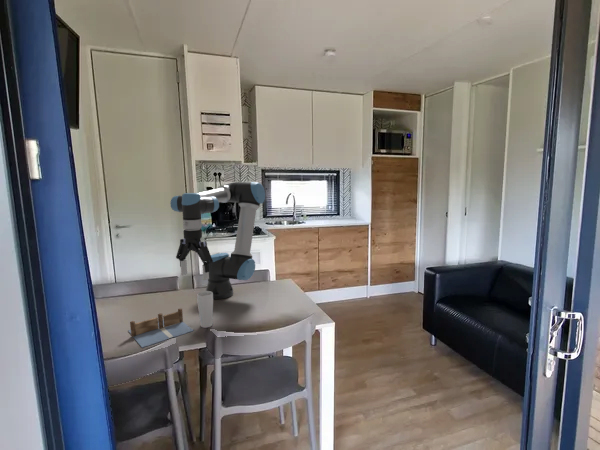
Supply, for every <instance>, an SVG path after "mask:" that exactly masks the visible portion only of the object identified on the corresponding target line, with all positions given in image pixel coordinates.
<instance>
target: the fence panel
mask: <svg viewBox="0 0 600 450" xmlns="http://www.w3.org/2000/svg"><path fill="white" fill-rule="evenodd" d="M163 316H164V314H163V313H158V314H157V317H153V318H150V319H146V320H142V321H139V322H136V321H135V320H132V321H130V322H129V327H130V330H131V334H130V336H131V337H132V338H134V337H133V336H136V335H139V334H142V333H145V332H149V331H152V330H155V329H158V322H159V328H163V320H164V319H163Z"/></svg>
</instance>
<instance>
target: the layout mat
mask: <svg viewBox="0 0 600 450" xmlns="http://www.w3.org/2000/svg"><path fill="white" fill-rule="evenodd" d="M127 331H128V332H129V333H130V335H131V329H128V330H127ZM193 332H194V329H192V327H191V326H189V325H188V324H187V323H186V322H184V321H183V322H179V323H176V324H173V325H170V326H166V327H164V319H163V328H159V322H158V329H155V330H152V331H149V332H145V333H142V334H139V335H136V336H133V337H132V338H133V339H134V340H135V342H137V344H138V345H139V346H140V347H141V349H143V348H146V347H149V346H152V345H155V344H159V343H161V342H164V341H167V339H168V340H170V339H169V338H171V339H173V338H172V337H174V338H177V337H179V336H182V335H185V334H189V333H193Z"/></svg>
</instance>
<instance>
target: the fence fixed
mask: <svg viewBox="0 0 600 450" xmlns="http://www.w3.org/2000/svg"><path fill="white" fill-rule="evenodd" d="M163 320H164V327H166V326H170V325H173V324H176V323H179V322H184V316H183V308H181V307H180V308H177V311H175V312H171V313H167V314H165V315H164V314H163Z"/></svg>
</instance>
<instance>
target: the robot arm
mask: <svg viewBox="0 0 600 450" xmlns="http://www.w3.org/2000/svg"><path fill="white" fill-rule="evenodd" d="M265 200H266V191H265V188H264V186H263V184H262V183H260V182H258V181H257V182H255V181H247V182H246V181H243V182H242V181H235V182H230V183H227V184H222V185H219V186H217V187H216V188H214V189H208V190H204V191H200V192H199V191H198V192H184V193H183V194H181V195H174V196H173V197H172V198H171V199H170V203H169V204H170V209H172V210H173V211H174V212H178V213H182V224H183V225H182V227H183V229H184V230H183V238H181V239H179V247H178V249H177V253H176V256H175V259H177V260H178V261H179V266H180V274H181V275H180V276H185V275H188V265H187V264H188V263H187V262H188V261H187V257H188V254H190V252H191V251H192V252H195V253H196V255H198V257H199V259H200V260H201V262H202V280H203V281H207V284H206V285H207V286H206V288H205V291H211V292H213V300H223V299H227V298H230V297H232V296H233V294H234V288H233V286H232V283H231V280H236V281H237V280H238V281H247V280H250V279H251V278H252V277H253V276H254V274H255V271H256V261H255V260H254V259H253V254H251V251H252V250H251V249H252V243H253V242H252V241H253V236H254V227H255V223H256V215H257V210H259V208H260V207H261V206H260V205H261V204H263V203H264V202H265ZM220 203H222V204H223V203H236V204H237V203H238V206H239V207H240V209H239V215H238V218H239V219H238V224H237V231H236V236H235V237H236V238H235V245H234V250H233V251H232V252H231V253H230V255H229V253H228V252H220V253H214V254H211V253H210V250H209V247H208V244H207V243H208V242H207V241H206V240H204V241H202V240H201V238H203V231H202V226H203V225H202V214H212V213H214V212H216V211H218V209H219V208H220ZM230 279H231V280H230Z"/></svg>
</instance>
